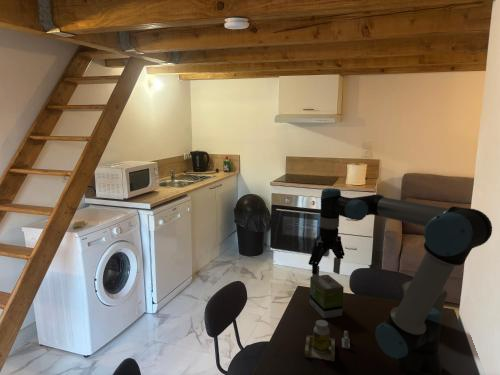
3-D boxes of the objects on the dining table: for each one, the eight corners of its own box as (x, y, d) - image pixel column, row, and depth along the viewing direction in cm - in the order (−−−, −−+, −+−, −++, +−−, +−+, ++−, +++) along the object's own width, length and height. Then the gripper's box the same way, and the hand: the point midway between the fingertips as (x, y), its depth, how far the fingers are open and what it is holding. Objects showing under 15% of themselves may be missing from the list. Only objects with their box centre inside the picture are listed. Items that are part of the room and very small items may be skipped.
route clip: (349, 340, 153) (349, 331, 153) (349, 349, 147) (350, 339, 146) (341, 339, 154) (342, 330, 153) (342, 347, 148) (342, 338, 147)
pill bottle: (310, 351, 144) (311, 324, 142) (314, 342, 150) (315, 317, 148) (326, 355, 142) (328, 328, 140) (330, 346, 147) (331, 320, 145)
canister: (402, 332, 160) (407, 285, 157) (396, 312, 178) (400, 269, 174) (448, 338, 156) (454, 290, 153) (438, 317, 173) (442, 274, 170)
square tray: (306, 340, 152) (306, 335, 152) (334, 344, 150) (334, 338, 149) (304, 356, 141) (304, 350, 141) (334, 361, 139) (334, 354, 139)
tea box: (308, 304, 184) (309, 275, 181) (326, 301, 187) (328, 273, 184) (323, 319, 170) (325, 288, 167) (342, 316, 173) (344, 286, 170)
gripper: (340, 220, 161) (337, 267, 165) (301, 229, 145) (298, 281, 149) (355, 224, 156) (351, 272, 159) (316, 234, 140) (313, 287, 143)
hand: (326, 276), depth 154 cm, fingers open, 13 cm apart
